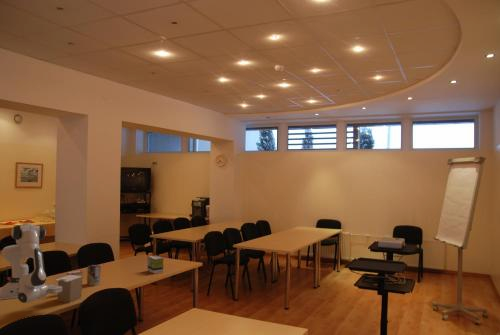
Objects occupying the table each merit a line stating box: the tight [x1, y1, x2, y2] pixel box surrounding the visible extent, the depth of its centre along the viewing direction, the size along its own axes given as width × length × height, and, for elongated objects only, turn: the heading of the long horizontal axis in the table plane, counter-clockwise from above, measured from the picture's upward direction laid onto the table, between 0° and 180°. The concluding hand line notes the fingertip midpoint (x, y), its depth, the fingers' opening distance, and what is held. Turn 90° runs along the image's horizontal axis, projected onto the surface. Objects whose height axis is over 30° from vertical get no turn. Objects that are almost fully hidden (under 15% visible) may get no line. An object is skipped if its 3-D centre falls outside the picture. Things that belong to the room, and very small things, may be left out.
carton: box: [57, 276, 83, 304], centre depth 292 cm, size 12×11×16 cm
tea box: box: [146, 255, 164, 275], centre depth 382 cm, size 15×10×15 cm
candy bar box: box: [66, 270, 83, 292], centre depth 310 cm, size 11×5×16 cm, turn 141°
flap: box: [54, 275, 83, 282], centre depth 290 cm, size 16×11×1 cm
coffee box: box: [86, 264, 101, 287], centre depth 334 cm, size 9×6×16 cm
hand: (56, 285), depth 279 cm, fingers closed
